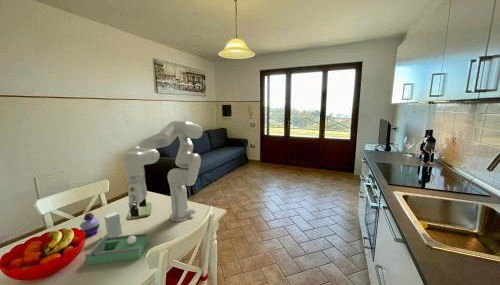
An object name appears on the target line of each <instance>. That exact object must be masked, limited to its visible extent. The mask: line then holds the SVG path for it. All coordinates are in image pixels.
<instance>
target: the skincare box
mask: <svg viewBox="0 0 500 285" xmlns="http://www.w3.org/2000/svg"><path fill="white" fill-rule="evenodd" d="M104 221H105V229H106V235H108V237H115V236H120V235H121V234H123V232H122V230H123V229H122V223H121V216H120V213H119V212H117V211H114V212H111V213H108V214H106V215H104Z"/></svg>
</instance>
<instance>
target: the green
mask: <svg viewBox="0 0 500 285" xmlns="http://www.w3.org/2000/svg"><path fill="white" fill-rule="evenodd" d="M132 235H133V236H135V237H136V242H135V243H134V244H132V245H130V244H128V243H127V239H128V237H129V236H132ZM148 241H149V240H148V233H146V232H145V233H137V234H128V235H127V234H125V235H117V236H114V237H108V235H107V234H105V235H104V236H102V237H99V238H98V241H97V243H96V244H95V246H94V247H93V248H92V249H91V250H90V251H89V252H88V253H85V254H84V256H85V257H84V258H85V261H86V265H87V266H90V265H97V264H103V263H104V264H105V263H115V262H123V261H129V260H130V261H131V260H138V259H140V258H141V257H142V254H143V253H144V251H145V249H146V246H147V244H148V243H149V242H148Z"/></svg>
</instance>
